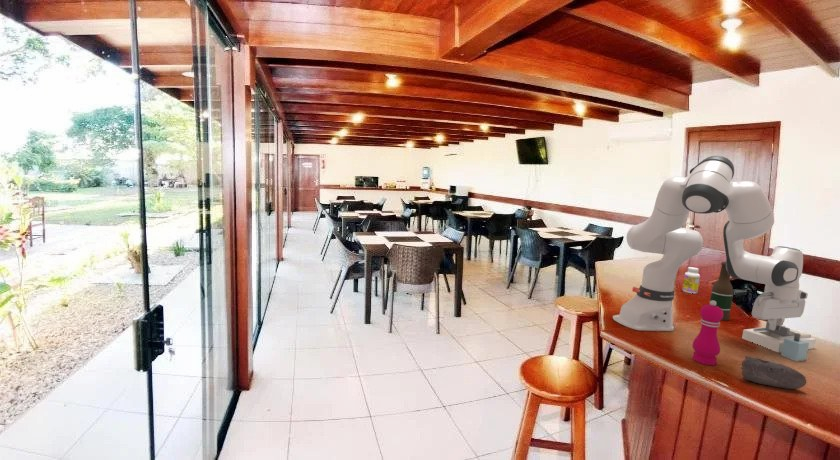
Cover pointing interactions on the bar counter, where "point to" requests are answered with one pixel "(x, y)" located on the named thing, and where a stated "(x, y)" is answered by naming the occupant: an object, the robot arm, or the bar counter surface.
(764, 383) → the perforated stone tool
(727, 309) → the beer bottle
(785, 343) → the plug
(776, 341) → the socket board
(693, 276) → the supplement bottle
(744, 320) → the bar counter surface
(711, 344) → the pepper mill
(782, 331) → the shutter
